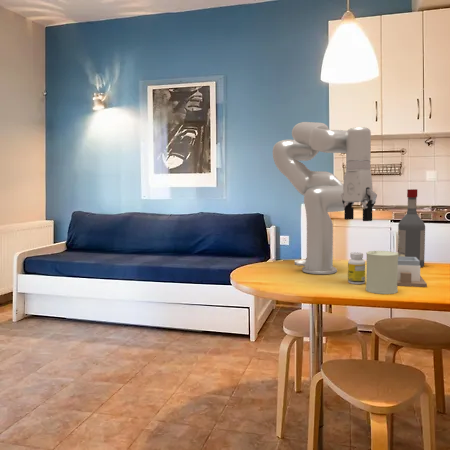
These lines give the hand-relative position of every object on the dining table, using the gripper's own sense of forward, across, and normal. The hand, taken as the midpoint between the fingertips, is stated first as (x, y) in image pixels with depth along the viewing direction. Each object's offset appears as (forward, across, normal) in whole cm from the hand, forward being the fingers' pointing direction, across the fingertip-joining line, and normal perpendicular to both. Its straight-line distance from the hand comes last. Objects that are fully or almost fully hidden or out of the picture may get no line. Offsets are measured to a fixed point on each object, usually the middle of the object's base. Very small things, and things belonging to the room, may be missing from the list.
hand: (357, 220), depth 145 cm
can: (+21, +12, 0) cm, 24 cm away
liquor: (+21, -19, +38) cm, 47 cm away
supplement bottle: (+21, 0, 0) cm, 21 cm away
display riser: (+21, +3, +16) cm, 26 cm away
